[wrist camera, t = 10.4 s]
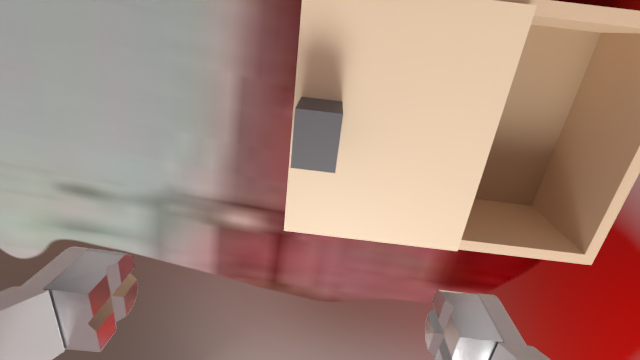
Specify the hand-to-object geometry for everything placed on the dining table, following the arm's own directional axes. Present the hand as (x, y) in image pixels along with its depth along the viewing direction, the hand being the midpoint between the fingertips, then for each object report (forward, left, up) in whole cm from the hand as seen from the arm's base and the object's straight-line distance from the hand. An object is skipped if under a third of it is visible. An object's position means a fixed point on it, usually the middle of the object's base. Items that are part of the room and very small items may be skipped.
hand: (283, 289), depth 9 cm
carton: (0, +18, -29) cm, 34 cm away
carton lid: (0, +6, -19) cm, 20 cm away
